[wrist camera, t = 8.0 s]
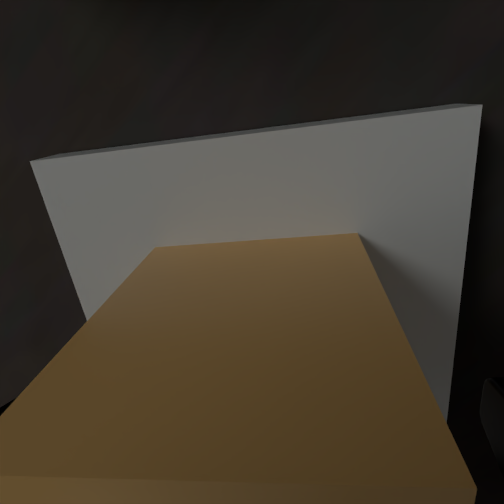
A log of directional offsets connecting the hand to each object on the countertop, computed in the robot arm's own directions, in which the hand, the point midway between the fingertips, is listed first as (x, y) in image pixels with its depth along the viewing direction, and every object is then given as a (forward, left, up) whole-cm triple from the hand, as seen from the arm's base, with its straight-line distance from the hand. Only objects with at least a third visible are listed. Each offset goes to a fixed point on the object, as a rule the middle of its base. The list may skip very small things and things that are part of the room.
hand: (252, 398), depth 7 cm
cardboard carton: (0, 0, -2) cm, 3 cm away
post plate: (0, 0, -4) cm, 4 cm away
